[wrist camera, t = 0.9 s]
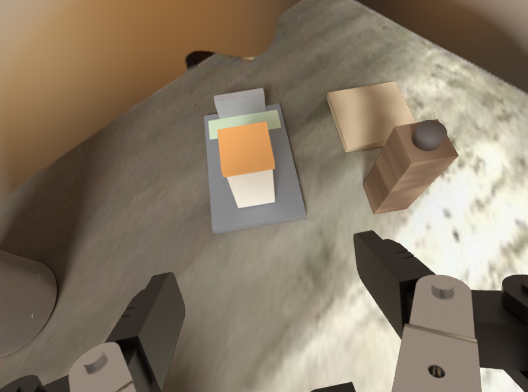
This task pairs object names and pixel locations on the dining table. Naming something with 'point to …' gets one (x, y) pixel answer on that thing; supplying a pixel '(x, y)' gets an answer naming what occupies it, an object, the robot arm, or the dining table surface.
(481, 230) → the dining table surface
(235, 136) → the orange-capped white pillar
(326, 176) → the dining table surface
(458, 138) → the dining table surface
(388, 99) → the coaster
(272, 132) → the panel
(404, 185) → the pepper mill
